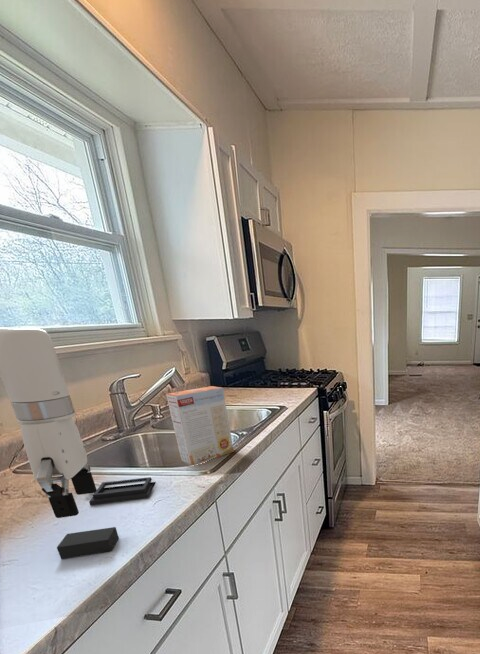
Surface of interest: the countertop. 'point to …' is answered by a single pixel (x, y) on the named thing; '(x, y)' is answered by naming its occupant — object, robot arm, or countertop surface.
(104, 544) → the top pad
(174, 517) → the countertop surface
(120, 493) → the base pad
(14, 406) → the robot arm
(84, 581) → the countertop surface
